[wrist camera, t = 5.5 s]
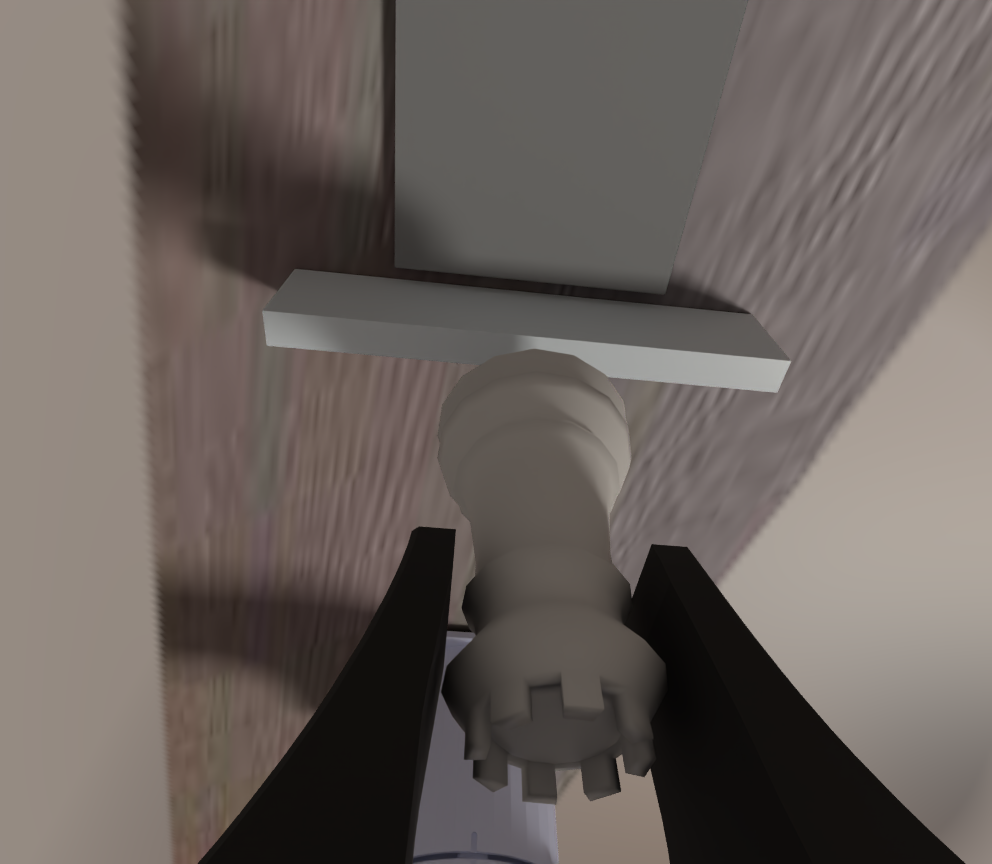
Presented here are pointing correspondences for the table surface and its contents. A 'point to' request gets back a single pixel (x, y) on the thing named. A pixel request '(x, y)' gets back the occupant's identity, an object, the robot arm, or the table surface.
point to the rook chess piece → (545, 578)
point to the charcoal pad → (554, 134)
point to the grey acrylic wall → (521, 329)
